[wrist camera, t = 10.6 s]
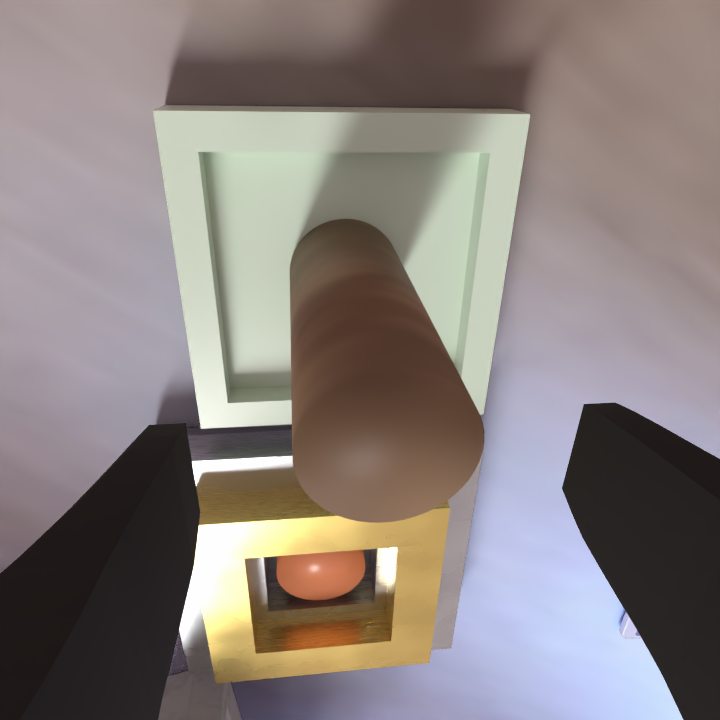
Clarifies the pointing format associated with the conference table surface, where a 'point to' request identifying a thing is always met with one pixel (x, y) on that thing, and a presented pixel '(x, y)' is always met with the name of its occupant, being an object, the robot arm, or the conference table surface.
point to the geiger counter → (198, 698)
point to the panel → (273, 598)
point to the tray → (326, 203)
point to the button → (320, 573)
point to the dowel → (372, 383)
